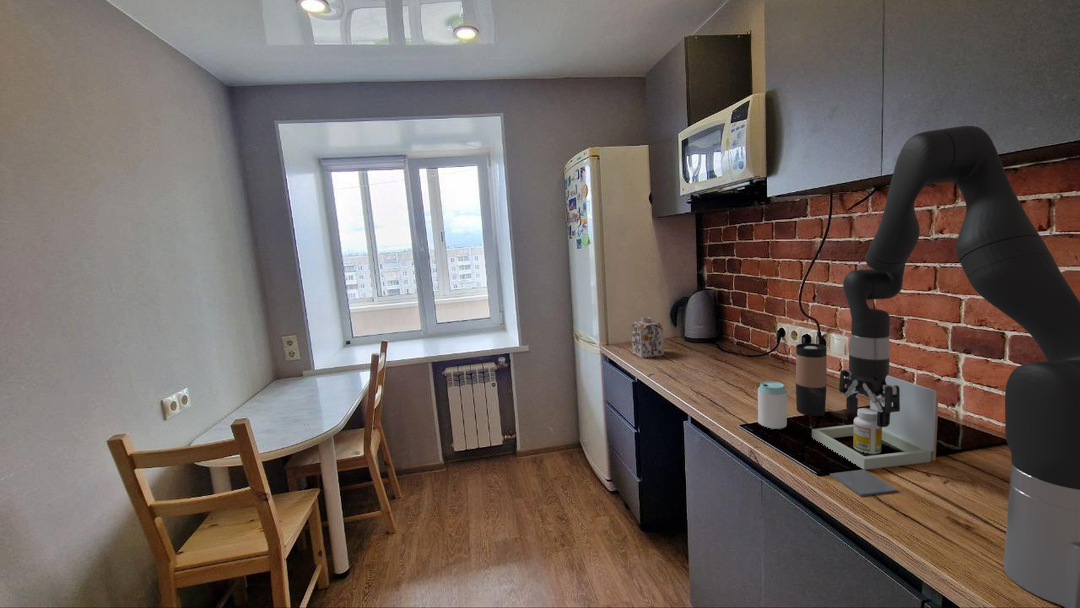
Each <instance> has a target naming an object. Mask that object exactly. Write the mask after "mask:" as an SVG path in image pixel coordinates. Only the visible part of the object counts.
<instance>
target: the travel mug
mask: <svg viewBox="0 0 1080 608" xmlns="http://www.w3.org/2000/svg"><path fill="white" fill-rule="evenodd" d="M795 346H796V347H795V397H796V398H795V399H796V400H795V403H796V411H797V412H798V413H800V414H801V415H805V416H808V417H809V416H810V417H820V416H824V415H825V414H826V405H827V403H826V400H827V382H828V381H827V379H828V378H827V376H828V375H827V366H828V365H827V356H828V355H827V352H828V351H827V350H828V349H827V346H826V345H824V344H820V343H810V342H808V343H807V342H806V343H805V342H804V343H798V344H796V345H795Z"/></svg>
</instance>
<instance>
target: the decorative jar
mask: <svg viewBox="0 0 1080 608" xmlns="http://www.w3.org/2000/svg"><path fill="white" fill-rule="evenodd" d="M630 327H631V329H630V331H631V333H630V334H631V350H632V351H631V352H632V354H633V355H635V354H636V356H637V357H638V358H641V359H647V357H648V358H654V357H655V356H656V357H663V356H662V355H664V356H665V341H664V340H665V339H664V328H663V326H662V324H661V323H660V321H657V320H654V319H652V317H649V316H644V317H643V316H642V317H641V318H640V320H637V321H635V322H633V324H632V325H631V326H630Z"/></svg>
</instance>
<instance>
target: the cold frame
mask: <svg viewBox="0 0 1080 608" xmlns="http://www.w3.org/2000/svg"><path fill="white" fill-rule="evenodd" d="M885 380H886V383H887V385H891V386H895V385H897V386H899V388H900V411H899V412H891V413H890V424H889V425H888V426H887V427H882V441H883V442H884V443H886V444H889V445H890V446H893V447H895V448H897V449H898V450H900V452H893V453H892V452H891V453H884V454H883V453H882V454H872V455H866V456H864V455H863V454H861V453H859V452H857V450H854V449H852V448H851V447H848V446H847V445H846V444H843V443H842V442H839V441H838V440H836V439H835V438H843V437H845V438H846V437H853V434H854V424H847V425H837V426H828V427H819V428H812V429H811V438H813V439H812V440H814V439H815V440H816V442H817V441H818V442H817V443H819V442H820V443H822V444H823V445H822V444H821V445H822V446H824V445H825V446H826V447H825V446H824V447H825V448H827V447H828V448H827V449H829V450H830V449H831V451H832V450H833V451H832V452H834V453H835V452H836V454H837V453H838V454H837V455H839V456H840V455H841V456H840V457H842V456H843V457H842V458H844V457H845V458H846V460H847V459H848V460H847V461H849V462H850V461H851V462H850V463H852V464H854V465H855V464H856V465H855V466H857V467H859V468H861V470H866V471H867V470H872V469H882V468H890V467H898V466H907V465H914V464H915V465H917V464H923V463H924V464H925V463H931V462H935V461H936V458H937V440H938V439H937V437H938V419H939V418H938V416H939V414H938V413H939V401H938V400H937V390H934V389H931V388H928V387H925V386H923V385H919V384H916V383H913V382H910V381H907V380H903V379H900V378H897V377H894V376H891V375H889V374H888V375H887V377H886V378H885ZM877 398H882V397H881V395H879V396H878V397H877ZM881 404H882V406H884V404H883V403H882V402H881ZM892 406H893V402H892ZM869 409H873V410H876V411H878V409H877V407H876V405H875V403H873V402H872V401H871V399H870V398H869ZM815 440H814V441H815ZM820 443H819V444H820ZM845 458H844V459H845Z"/></svg>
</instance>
